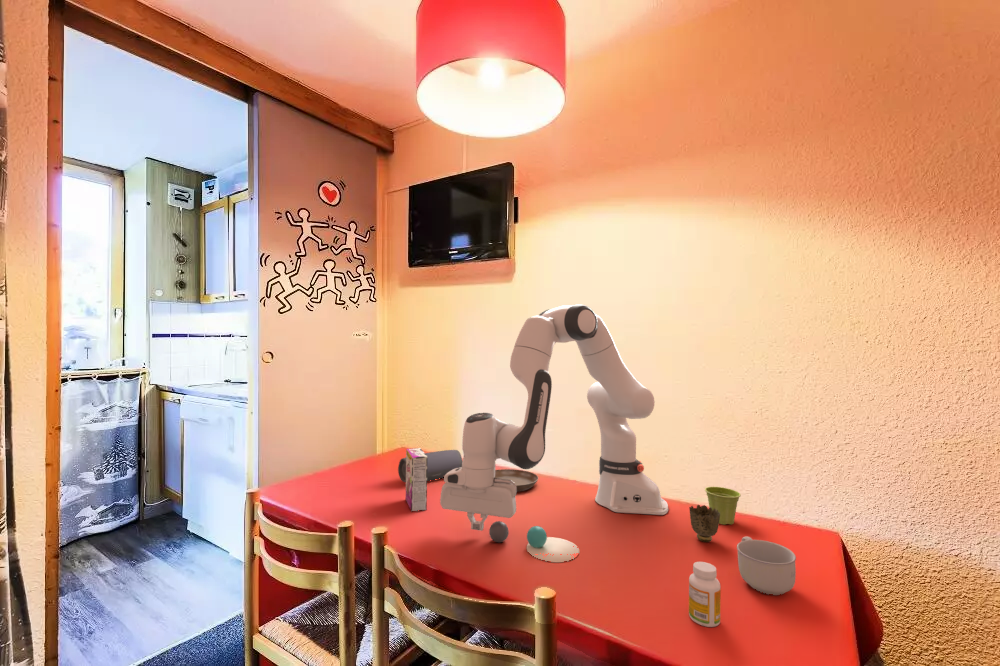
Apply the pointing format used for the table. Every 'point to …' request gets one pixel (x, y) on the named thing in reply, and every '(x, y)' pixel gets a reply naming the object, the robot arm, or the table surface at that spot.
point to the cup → (704, 522)
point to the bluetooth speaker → (436, 464)
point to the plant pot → (723, 503)
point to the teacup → (766, 566)
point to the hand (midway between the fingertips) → (477, 529)
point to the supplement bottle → (704, 595)
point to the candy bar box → (416, 479)
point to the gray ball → (498, 531)
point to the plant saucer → (518, 478)
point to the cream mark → (554, 550)
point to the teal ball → (536, 536)
